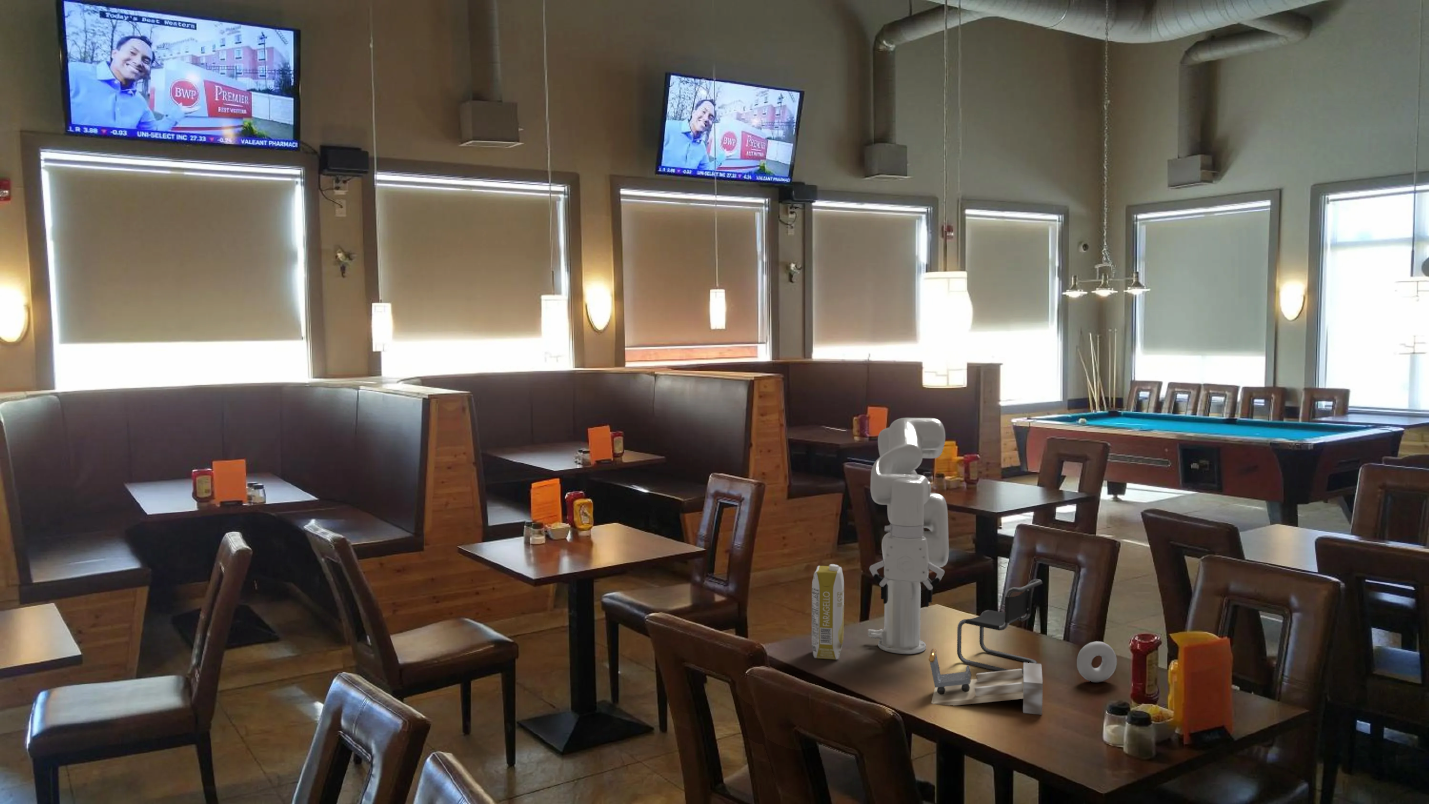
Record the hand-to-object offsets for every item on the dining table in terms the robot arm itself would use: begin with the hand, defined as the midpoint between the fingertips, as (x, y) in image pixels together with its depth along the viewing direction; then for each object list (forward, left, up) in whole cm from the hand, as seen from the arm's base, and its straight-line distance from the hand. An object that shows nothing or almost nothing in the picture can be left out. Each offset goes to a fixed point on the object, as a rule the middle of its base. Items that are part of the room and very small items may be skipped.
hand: (906, 603), depth 236 cm
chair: (+21, +27, -21) cm, 40 cm away
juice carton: (-22, +21, -21) cm, 37 cm away
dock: (+19, 0, -22) cm, 29 cm away
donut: (+44, +19, -21) cm, 52 cm away
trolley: (+10, 0, -20) cm, 22 cm away
